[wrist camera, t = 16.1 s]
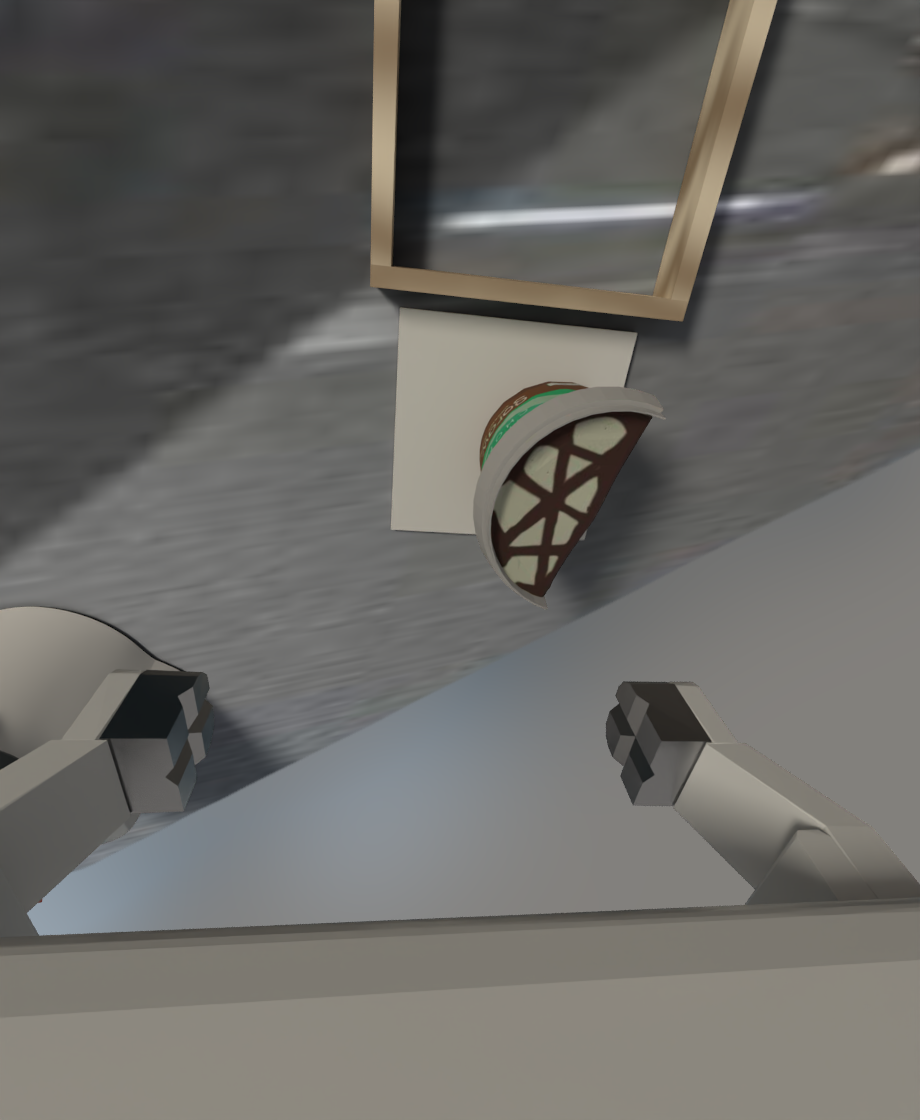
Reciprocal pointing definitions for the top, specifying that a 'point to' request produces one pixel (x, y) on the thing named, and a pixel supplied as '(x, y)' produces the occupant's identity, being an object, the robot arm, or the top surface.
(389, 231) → the frame
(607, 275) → the top surface
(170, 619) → the top surface
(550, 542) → the food container
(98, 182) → the top surface
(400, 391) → the mat
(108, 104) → the top surface
